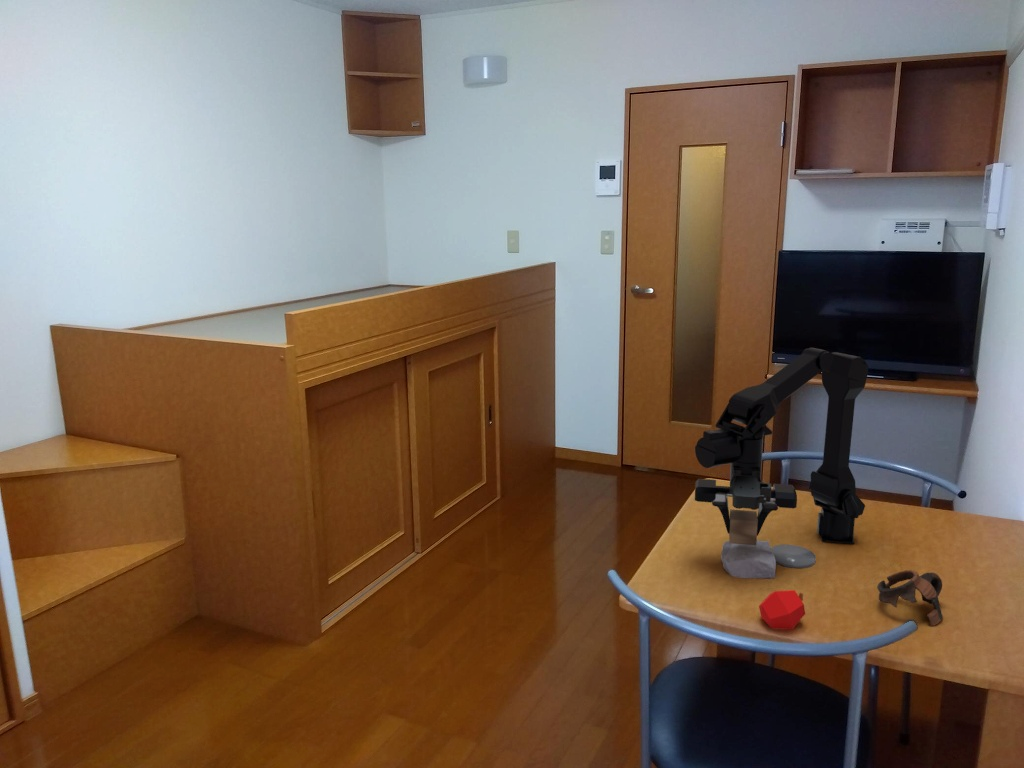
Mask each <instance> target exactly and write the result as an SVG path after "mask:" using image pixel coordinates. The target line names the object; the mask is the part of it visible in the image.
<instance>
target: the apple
mask: <svg viewBox="0 0 1024 768" xmlns="http://www.w3.org/2000/svg"><path fill="white" fill-rule="evenodd" d="M803 597H804V593H803V592H799V594H798V593H797V591H796V590H795V589H794V590H793V589H791V590H775V591H772V592H770V593H769V594H768V595H767V596H766V597H765V598H764V600H763V601H762V602H761V603H760V604H759V606H758V610H759V612H760V617H761V619H762V620H763V621H764V622H765V623H766V624H767V625H768V626H769V627H770V628H771V629H772V630H773V629H774V630H779V629H781V630H793V629H794V628H795V627H796V626H797V625H798V623H799V622H800V621H801V620H802V618H803V617H804V616H805V615H806V611H805V605H804V602H803V601H804V598H803Z"/></svg>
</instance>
